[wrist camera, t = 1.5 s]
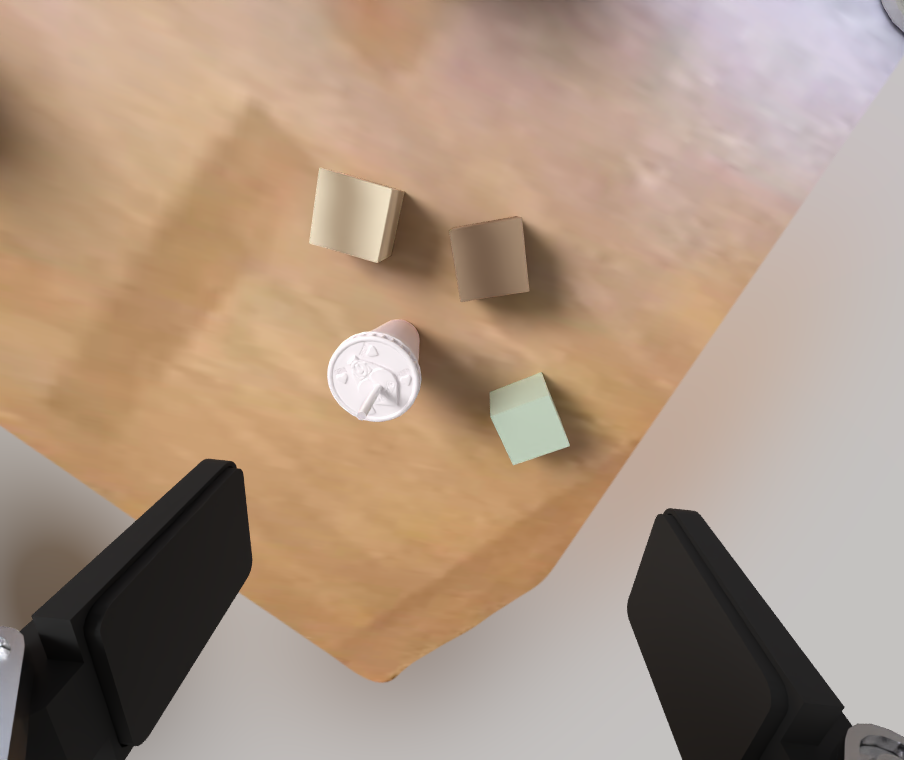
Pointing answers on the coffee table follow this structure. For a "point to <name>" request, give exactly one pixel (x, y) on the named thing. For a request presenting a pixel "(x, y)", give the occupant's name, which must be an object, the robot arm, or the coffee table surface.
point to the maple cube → (355, 216)
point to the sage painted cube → (527, 419)
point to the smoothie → (377, 372)
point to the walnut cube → (490, 259)
